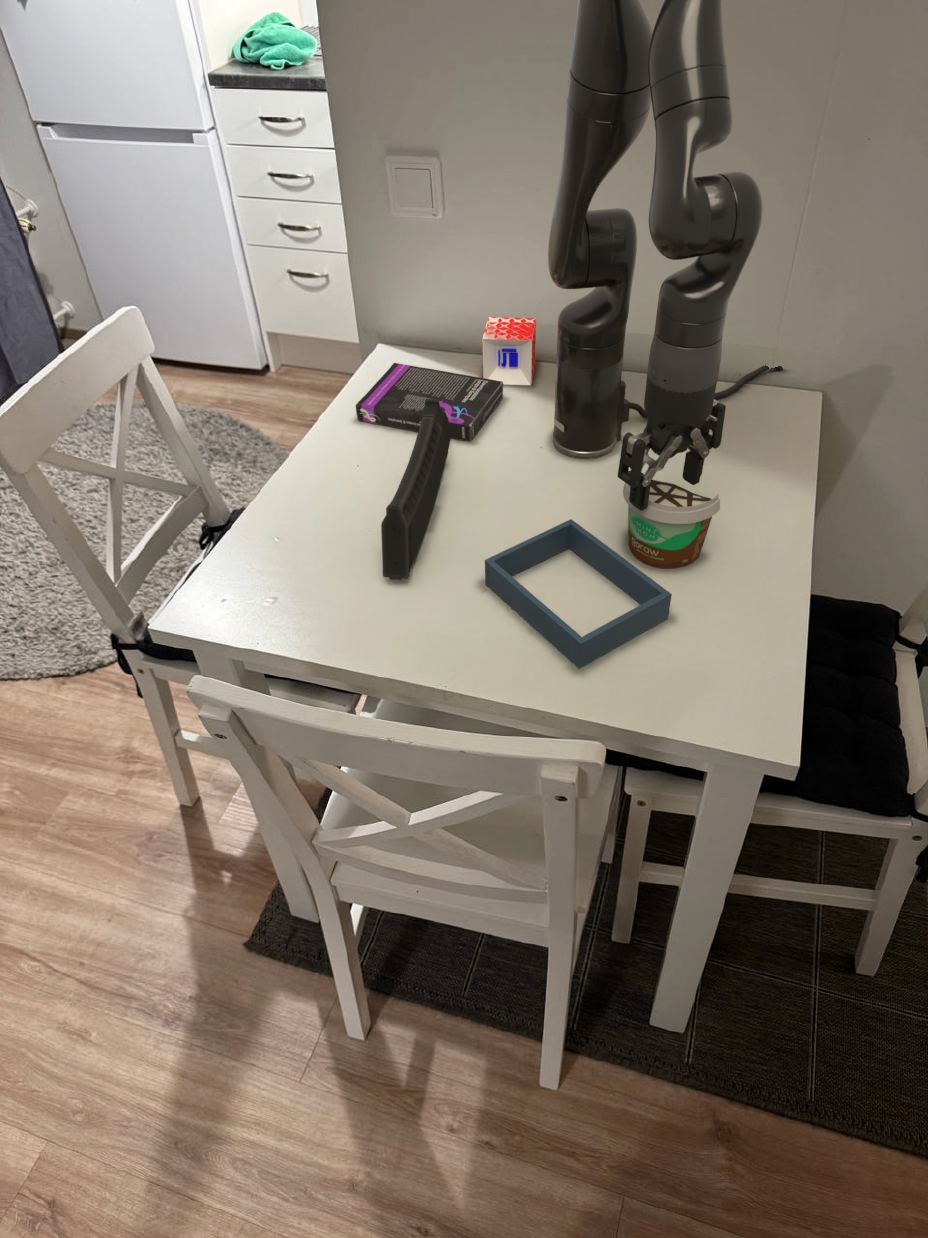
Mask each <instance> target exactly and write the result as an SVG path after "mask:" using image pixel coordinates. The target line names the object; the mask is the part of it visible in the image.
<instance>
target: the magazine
mask: <svg viewBox="0 0 928 1238" xmlns="http://www.w3.org/2000/svg"><path fill="white" fill-rule="evenodd" d="M451 440H452V438H451V434H450V427H449V420H448V417H447V415H446V413H445V410H444V409H442V408H441V407H440V404H439V400H437V399H426V400H425V408H424V412H423V415H422V421H421V424H420V427H419V431H418V432H417V436H416V438H415V442H414V445H413V449H412V451H411V453H410V457H409V460H408V463H407V465H406V468H405V470H404V473H403V476H402V477H401V480H400V482H399V485H398V487H397V490H396V492H395V494H394V496H393V498H392V499H391V502H390V503H389V504H388V505H387V506H386V508H385V511H386V512H385V514H386V515H385V516H384V518H383V520H382V521H381V525H380V527H381V533H380V534H381V555H382V556H381V558H382V559H381V560H382V561H381V563H382V577H383V578H385V579H386V578H387V579H388V578H389V580H397V581H402V580H409V577H410V573H411V570H412V568H413V567H414V566H413V565H414V563H415V561H416V558H417V556H418V553H419V551H420V548H421V546H422V543H423V541H424V538H425V535H426V532H427V530H428V527H429V523H430V521H431V519H432V518H431V517H432V516H433V512H434V508H435V505H436V501H437V498H438V494H439V490H440V487H441V483H442V478H443V474H444V471H445V466H446V462H447V458H448V454H449V449H450V444H451Z"/></svg>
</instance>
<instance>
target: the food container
mask: <svg viewBox="0 0 928 1238" xmlns="http://www.w3.org/2000/svg"><path fill="white" fill-rule="evenodd" d="M650 484H651V485H650V493H649V501H648V508H647V509H645V510H643V511H640V510H639V509H638V508H636V507H635V506H633V505H632V504H631V503H630V501H629V496H630V487H631V486H630V485H628V484H627V483H625V482H624V484H623V488H622V497H623V499H624V501H625V502H626V504H627V524H628V525H627V526H628V527H627V528H628V533H627V535H628V537H627V539H628V542H627V543H628V544H627V545H628V547H629V551H630V553H631V554H632V555H633V556H634V557H635V559H637V560H638V561H639V562H641V563H643V564H645V565H647V566H648V567H649V566H650V567H653V568H657V569H665V570H667V569H669V570H670V569H671V570H673V569H679V568H684V567H687V566H689V565H692V564H693V563H694V562H695V561H697V560H698V559H699V558H700V556H701V553H702V549H703V547H704V544H705V540H706V537H707V535H708V531H709V528H710V525H711V522H712V519H713V516H715V515H716V514H718V513H719V511H721V499H720V498H719V495H720V494H719V493H718V494H716V495H715V496H714V497H713V498H711V497H707V496H703V495H700V494H697V493H695V492H692V491H690V490H688V489H686V488H684V487H682V486H680V485H678V484H675V483H672V482H671V483H670V482H668V481H667V482H666V481H661V480H655V479H652V480H651V482H650Z"/></svg>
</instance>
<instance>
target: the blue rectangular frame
mask: <svg viewBox="0 0 928 1238" xmlns="http://www.w3.org/2000/svg"><path fill="white" fill-rule="evenodd" d="M567 550H570V551H572V552H573V553H574V554H575V555H576V556H577V557H579V558H580V559H582V560H583V561H584V562H585V563H586V564H588V565H589V566H590V567H592V568H593V569H594V570H595V571H597V572H598V573H599V574H601V575H602V576H603V577H604V578H606V579H607V580H608V581H610V582H611V583H613V584H614V585H615V586H616V587H617V588H618V589H620V590H621V591H622V592H624V593H625V594H627V595H628V596H629V597H630V598H632V599H633V600H634V601H635V602H636V603H638V604H639V605H638V606H636V607H634V608H632V609H631V610H628V611H626V612H625V613H623V614H622V615H619V616H618V617H616V618H614V619H612V620H610V621H608V622H607V623H604V624H603V625H601V626H599V627H597V628H595V629H594V630H592V631H590V632H588V633H586V634H584V635H580V634H579V633H578V632H577V631H576V630H574V629H573V628H572V627H571V626H570V625H569V624H567V622H565V621H564V620H563V619H562V618H561V617H560V616H558V615H557V614H556V613H555V612H554V611H553V610H551V608H549V607H548V606H547V605H545V604H544V602H542V600H540V599H539V598H537V597H536V596H535V595H534V594H533V593H532V592H530V590H528V589H527V588H526V587H525V586H524V585H522V583H520V582H519V581H518V580H517V579H515V578H514V576H516V575H518V574H521V573H522V572H524V571H526V570H528V569H530V568H532V567H535V566H537V565H538V564H540V563H542V562H544V561H547V560H549V559H551V558H554V557H555V556H557V555H559V554H562V553H563V552H565V551H567ZM484 581H485V582H484V583H485V586H486V587H487V588H489V590H490V591H492V592H493V593H494V594H495V595H496V596H497V597H498V598H499V599H501V601H503V602H504V603H505V604H506V605H507V606H509V608H511V609H512V610H513V611H514V612H515V613H516V614H517V615H519V617H521V618H522V620H523V621H525V622H526V623H527V624H529V625H530V627H532V628H533V629H534V630H535V631H536V632H537V633H538V634H540V635H541V636H542V637H543V638H544V639H545V640H546V641H547V642H549V644H551V645H552V646H553V647H554V648H555V649H556V650H557V651H559V652H560V653H561V654H562V655H563V656H564V657H565V658H567V660H569V662H571V663H572V664H573V665H574V666H575V667H576V668H577V669H582V668H583V667H586V666H587V665H589V664H590V663H593V662H594V661H596V660H598V659H599V658H601V657H604V656H605V655H607V654H608V653H610V652H612V651H614V650H615V649H617V648H619V647H621V646H623V645H624V644H626V643H628V642H630V641H632V640H634V639H635V638H637V637H638V636H640V635H642V634H644V633H647V631H649V630H652V629H653V628H654V627H656V626H658V625H661V624H662V623H664V622H665V621H668V620H669V614H670V609H671V601H672V596H673V595H672V593H671V592H670V591H668V590H667V589H666V588H664V587H663V586H662V585H660V584H659V583H658V582H656V581H655V580H653V578H651V577H650V576H648V575H647V574H645V573H644V572H643V571H642V570H640V569H639V568H638V567H636V566H635V565H634V564H632V563H631V562H629V560H628V559H626V558H624V557H623V556H622V555H620V554H619V553H618V552H616V551H615V550H614V549H612V548H611V547H609V546H608V545H607V544H605V543H604V542H603V541H602V540H600V539H599V538H597V537H596V536H595V535H593V534H592V533H591V532H589V531H588V530H587V529H585V528H584V527H583V526H582V525H580V524H578V523H577V522H575V520H573V519H571V518H570V519H568V520H566V521H564V522H561V523H560V524H557V525H555V526H553V527H551V528H549V529H547V530H545V531H543V532H541V533H539V534H536V535H534V536H532V537H530V538H528V539H526V540H523V541H522V542H520V543H518V544H516V545H514V546H511V547H509V548H507V549H505V550H503V551H501V552H498V553H496V554H494V555H492V556H490V557H488V558H485V559H484Z"/></svg>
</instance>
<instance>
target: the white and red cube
mask: <svg viewBox="0 0 928 1238" xmlns="http://www.w3.org/2000/svg"><path fill="white" fill-rule="evenodd" d="M536 342H537V318H536V317H501V316H500V317H499V316H488V317H487V321H486V325H485V329H484V332H483V335H482V339H481V348H482V378H485V379H491V380H496V381H502V382H503V386H504V385H506V386H509V385H511V386H532V385H533V379H534V371H535V368H536V350H537V349H536V344H537V343H536Z"/></svg>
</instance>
